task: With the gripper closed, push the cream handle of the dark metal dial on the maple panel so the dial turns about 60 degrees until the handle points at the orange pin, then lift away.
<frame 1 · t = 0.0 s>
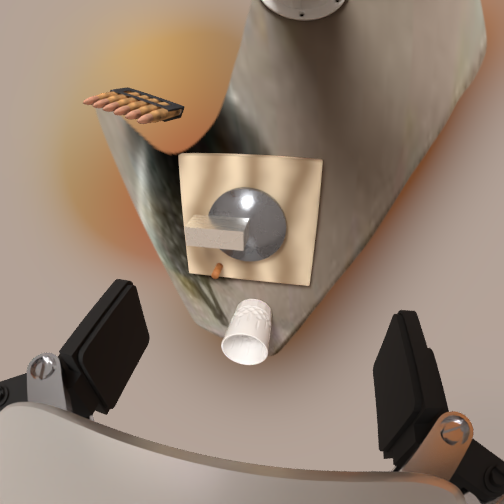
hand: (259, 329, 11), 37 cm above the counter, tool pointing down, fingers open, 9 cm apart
dial: (236, 231, 46), point 4 cm above the counter, hinge at 0.0°
dial panel: (249, 219, 50), on the counter
white cup: (254, 311, 59), on the counter
ammunition clip: (153, 101, 42), on the counter
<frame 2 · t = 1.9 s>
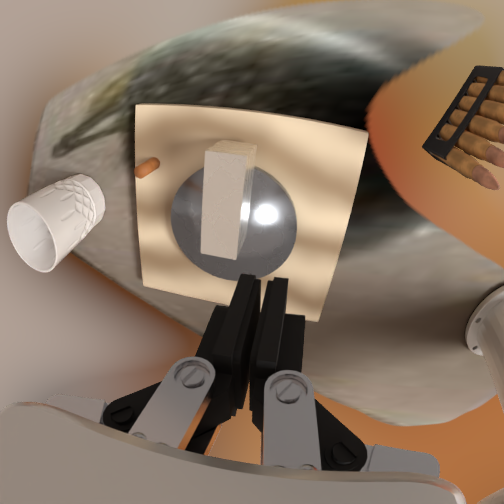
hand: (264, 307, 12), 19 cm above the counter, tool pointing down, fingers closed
dial: (227, 225, 27), point 4 cm above the counter, hinge at 0.0°
dial panel: (237, 215, 31), on the counter
white cup: (85, 199, 34), on the counter
ammunition clip: (456, 110, 22), on the counter
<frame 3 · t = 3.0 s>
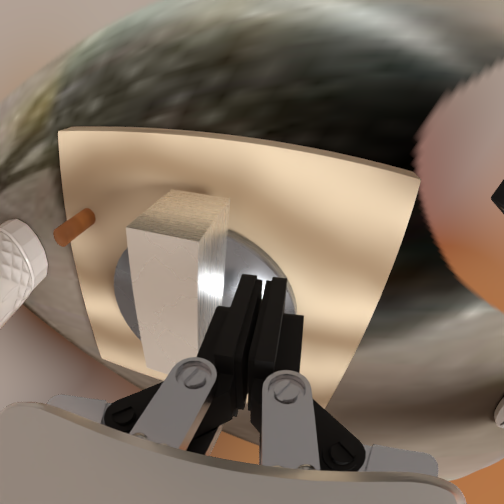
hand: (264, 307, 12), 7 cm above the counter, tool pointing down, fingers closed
dial: (187, 323, 17), point 4 cm above the counter, hinge at 0.0°
dial panel: (210, 290, 21), on the counter
white cup: (26, 248, 24), on the counter
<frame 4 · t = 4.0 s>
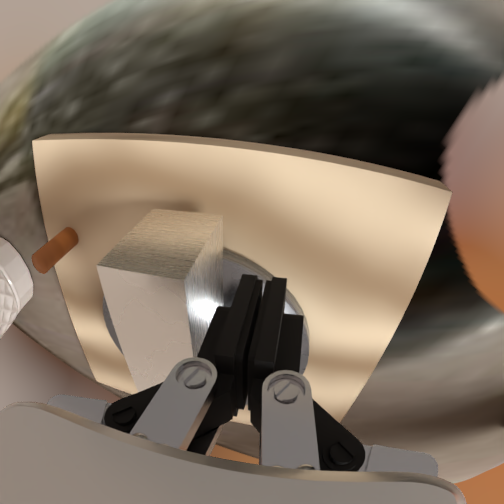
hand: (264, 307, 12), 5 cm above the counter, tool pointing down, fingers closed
dial: (186, 358, 15), point 5 cm above the counter, hinge at 3.2°, touching gripper
dial panel: (211, 314, 19), on the counter
white cup: (10, 267, 21), on the counter
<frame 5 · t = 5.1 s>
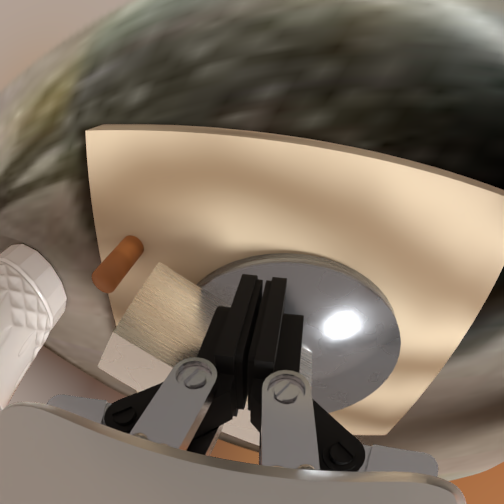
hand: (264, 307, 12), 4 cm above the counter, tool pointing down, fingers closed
dial: (266, 380, 14), point 4 cm above the counter, hinge at 61.7°, touching gripper
dial panel: (288, 325, 18), on the counter
white cup: (36, 278, 20), on the counter
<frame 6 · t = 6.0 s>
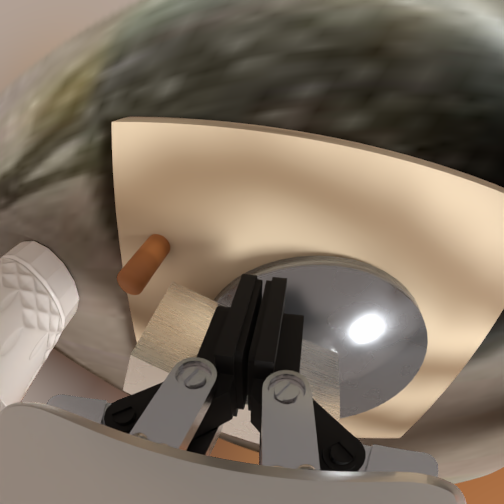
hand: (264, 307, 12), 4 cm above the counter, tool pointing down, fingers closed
dial: (294, 387, 14), point 4 cm above the counter, hinge at 71.7°, touching gripper
dial panel: (313, 328, 17), on the counter
white cup: (47, 277, 20), on the counter
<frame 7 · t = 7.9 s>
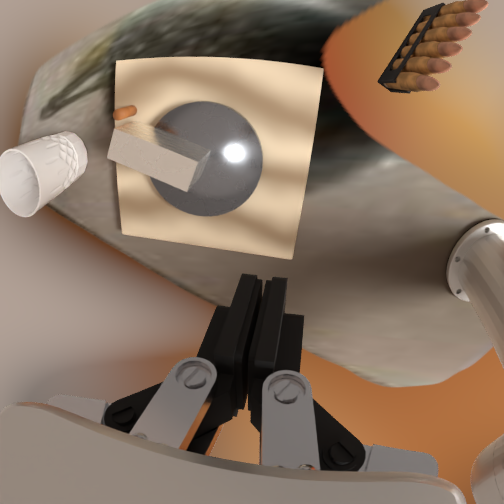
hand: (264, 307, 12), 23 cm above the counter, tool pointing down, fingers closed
dial: (186, 162, 28), point 5 cm above the counter, hinge at 71.7°
dial panel: (208, 154, 32), on the counter
white cup: (69, 155, 34), on the counter
ammunition clip: (408, 49, 23), on the counter
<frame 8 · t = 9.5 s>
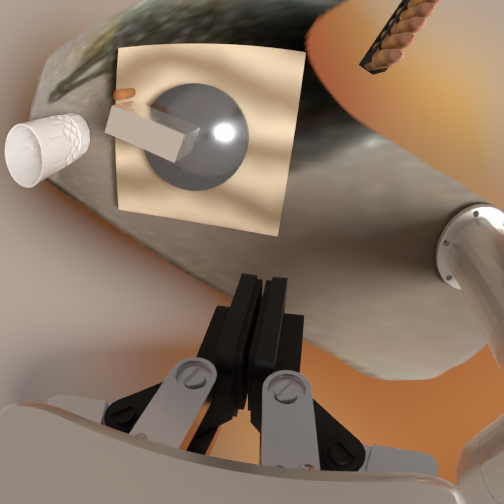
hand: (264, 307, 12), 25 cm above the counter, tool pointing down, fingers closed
dial: (176, 137, 30), point 4 cm above the counter, hinge at 71.7°
dial panel: (199, 134, 34), on the counter
white cup: (73, 135, 36), on the counter
ammunition clip: (389, 34, 24), on the counter
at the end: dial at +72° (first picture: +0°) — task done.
